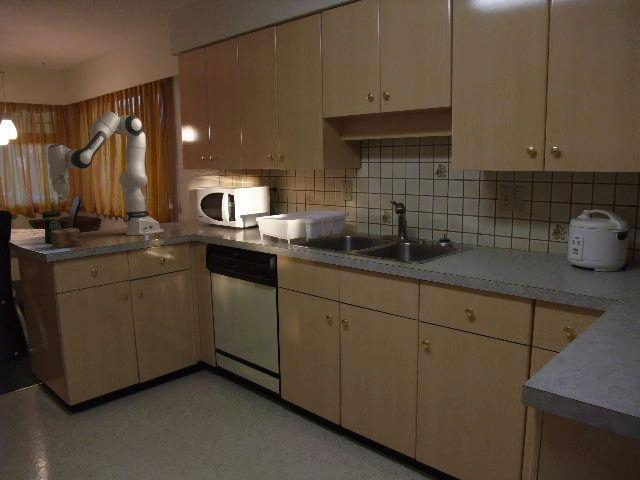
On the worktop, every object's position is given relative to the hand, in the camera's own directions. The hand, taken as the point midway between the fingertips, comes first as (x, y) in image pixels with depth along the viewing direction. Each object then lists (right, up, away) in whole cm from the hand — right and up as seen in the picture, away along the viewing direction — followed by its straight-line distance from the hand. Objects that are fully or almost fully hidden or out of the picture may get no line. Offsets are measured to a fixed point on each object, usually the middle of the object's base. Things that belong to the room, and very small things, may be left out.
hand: (62, 200), depth 274 cm
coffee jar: (-14, -23, +18) cm, 32 cm away
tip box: (+1, -25, +3) cm, 25 cm away
